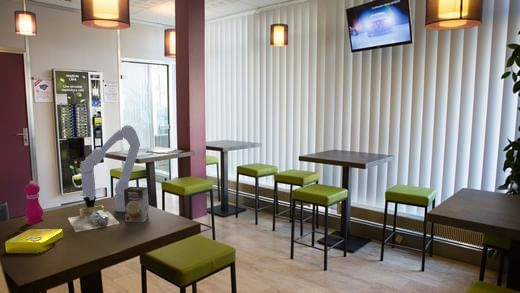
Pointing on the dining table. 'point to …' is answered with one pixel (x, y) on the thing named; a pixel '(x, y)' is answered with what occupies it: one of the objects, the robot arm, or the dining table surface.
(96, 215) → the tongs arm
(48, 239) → the element tile
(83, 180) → the robot arm
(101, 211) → the grey long bar
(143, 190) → the coffee box
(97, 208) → the tan wooden arch piece
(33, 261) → the dining table surface
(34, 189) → the pepper mill
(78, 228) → the board
